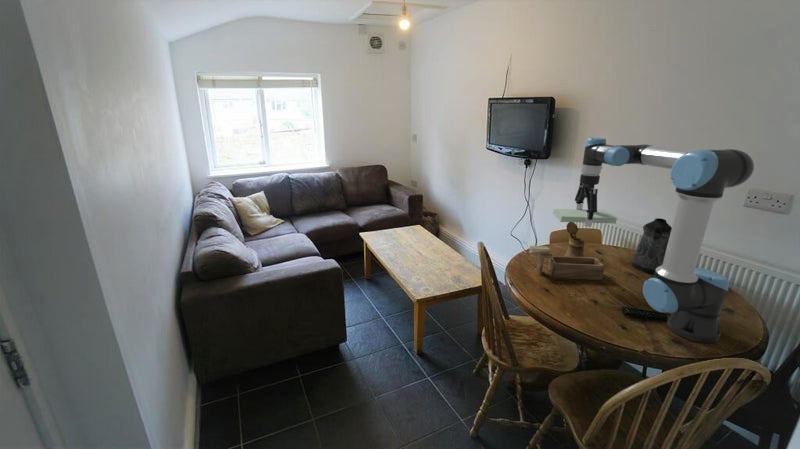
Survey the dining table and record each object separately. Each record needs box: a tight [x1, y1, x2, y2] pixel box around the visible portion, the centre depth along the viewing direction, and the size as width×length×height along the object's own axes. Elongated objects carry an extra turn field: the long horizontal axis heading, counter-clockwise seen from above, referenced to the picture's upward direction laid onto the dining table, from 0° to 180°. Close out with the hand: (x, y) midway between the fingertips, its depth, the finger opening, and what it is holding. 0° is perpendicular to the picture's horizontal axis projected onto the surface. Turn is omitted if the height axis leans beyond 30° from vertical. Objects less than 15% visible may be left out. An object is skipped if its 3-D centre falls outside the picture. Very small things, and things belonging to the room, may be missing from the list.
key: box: [528, 245, 550, 255], centre depth 177 cm, size 3×8×3 cm, turn 85°
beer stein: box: [631, 217, 672, 275], centre depth 181 cm, size 16×19×25 cm
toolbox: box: [536, 252, 606, 281], centre depth 177 cm, size 10×28×10 cm, turn 85°
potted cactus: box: [564, 222, 585, 257], centre depth 194 cm, size 9×14×18 cm, turn 4°
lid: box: [552, 208, 618, 224], centre depth 170 cm, size 12×23×2 cm, turn 85°
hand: (582, 221), depth 170 cm, fingers closed on lid, 12 cm apart
